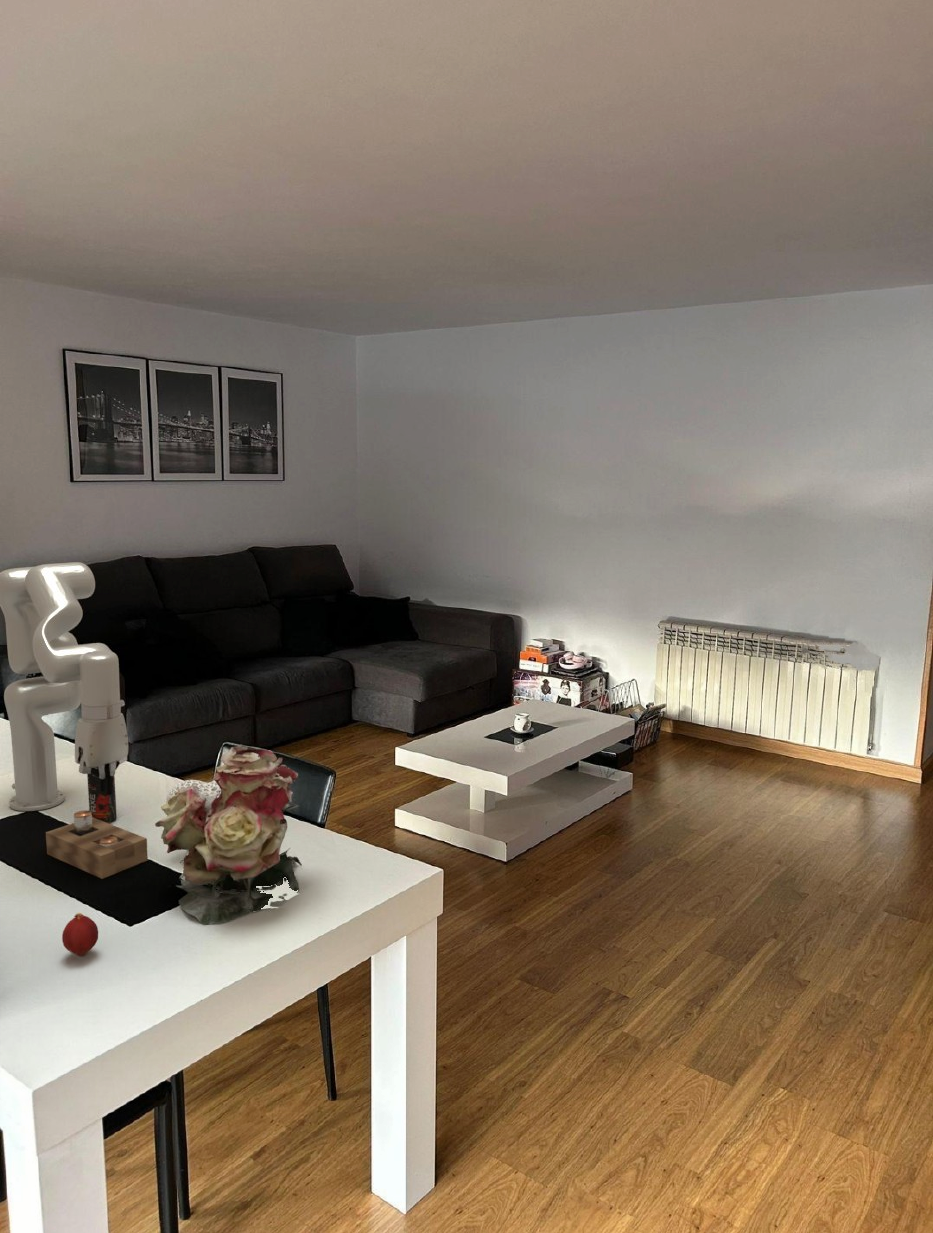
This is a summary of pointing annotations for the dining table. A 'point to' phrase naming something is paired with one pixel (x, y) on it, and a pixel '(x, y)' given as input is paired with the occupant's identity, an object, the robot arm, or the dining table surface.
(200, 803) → the rose bouquet
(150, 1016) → the dining table surface
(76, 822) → the plunger
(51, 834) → the socket block
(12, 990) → the dining table surface
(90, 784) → the deodorant
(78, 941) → the onion
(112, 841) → the plunger
